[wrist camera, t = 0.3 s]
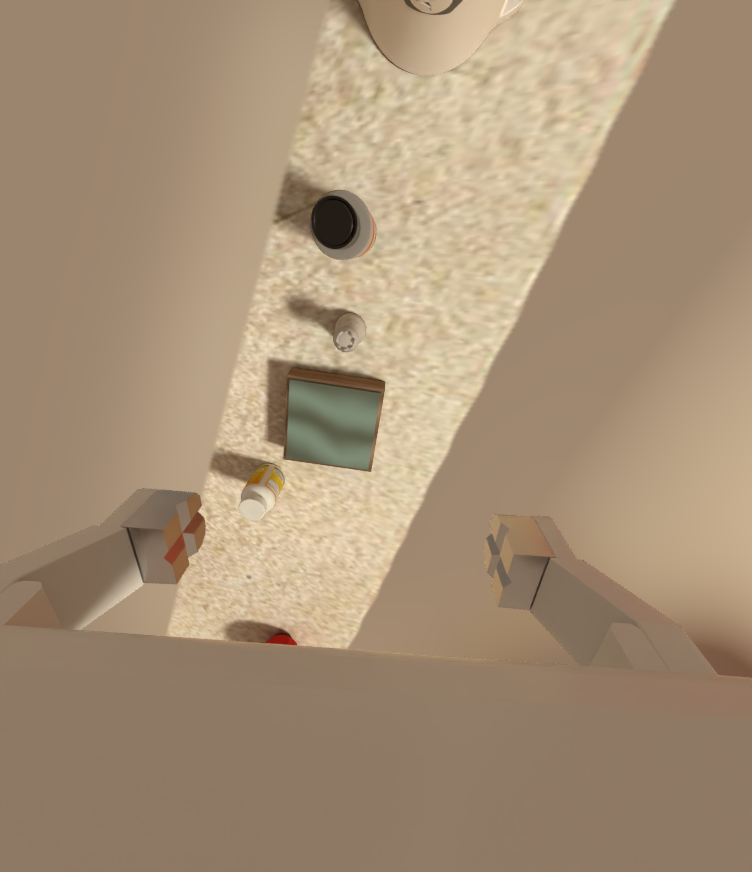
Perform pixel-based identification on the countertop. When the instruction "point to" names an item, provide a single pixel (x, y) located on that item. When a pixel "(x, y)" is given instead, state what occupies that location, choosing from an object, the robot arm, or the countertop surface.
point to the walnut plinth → (332, 419)
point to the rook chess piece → (349, 332)
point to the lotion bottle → (342, 225)
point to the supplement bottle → (261, 491)
